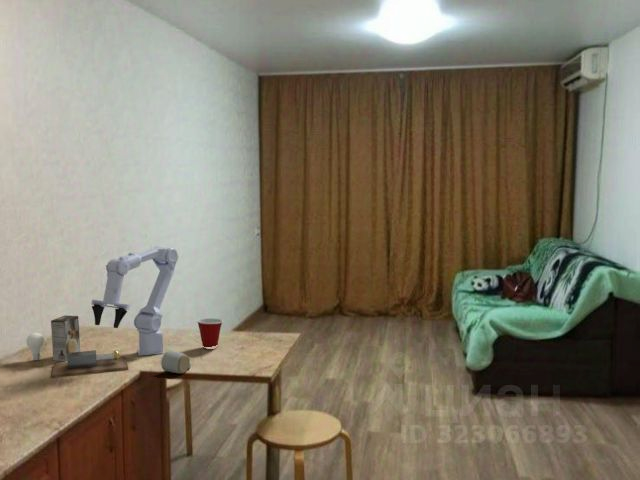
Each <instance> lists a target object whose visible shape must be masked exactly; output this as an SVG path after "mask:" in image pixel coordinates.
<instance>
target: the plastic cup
mask: <svg viewBox="0 0 640 480" xmlns="http://www.w3.org/2000/svg"><path fill="white" fill-rule="evenodd" d="M196 322H197V325H198V328H199V333H200V334H199V335H200V338H201V339H200V340H201V343H202V344H201V345H202V347H203V346H204V347H212V346H216V345H218V344H219V339H220V335H221V334H220V333H221V328H222V325H223V322H224V320H223V319H220V318H199V319H196ZM218 346H219V345H218Z"/></svg>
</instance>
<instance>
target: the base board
mask: <svg viewBox="0 0 640 480" xmlns="http://www.w3.org/2000/svg"><path fill="white" fill-rule="evenodd" d="M96 361H97V367H90V368H81V369H71V370H68V363H67V361H63V362H55V363H54V364H53V369H52V378H62V377H69V376H70V377H71V376H80V375H89V374H100V373H107V372H108V373H109V372H118V371H120V372H121V371H127V370H129V365H128V364H129V363H128V360H127V356H119V360H114V358H113V359H103V360H96Z"/></svg>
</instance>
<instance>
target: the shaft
mask: <svg viewBox="0 0 640 480" xmlns="http://www.w3.org/2000/svg"><path fill="white" fill-rule="evenodd" d="M119 352H120V351H119V350H113V353H101V354H96V360H103V359H113V358H114V360H119V357H120V353H119Z"/></svg>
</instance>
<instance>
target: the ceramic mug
mask: <svg viewBox="0 0 640 480" xmlns="http://www.w3.org/2000/svg"><path fill="white" fill-rule="evenodd" d="M160 362H161V363H160V365H161V369H162V370H163V371H164V372H169V373H176V374H184V373H186V372H187V371H188V370H189V369H190V368H191V367H192V363H191V359H190V357H189V356H188V355H187V354H185V353H182V352H178V351H175V350H167V351H165V353H163V355H162V358H161V361H160Z"/></svg>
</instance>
